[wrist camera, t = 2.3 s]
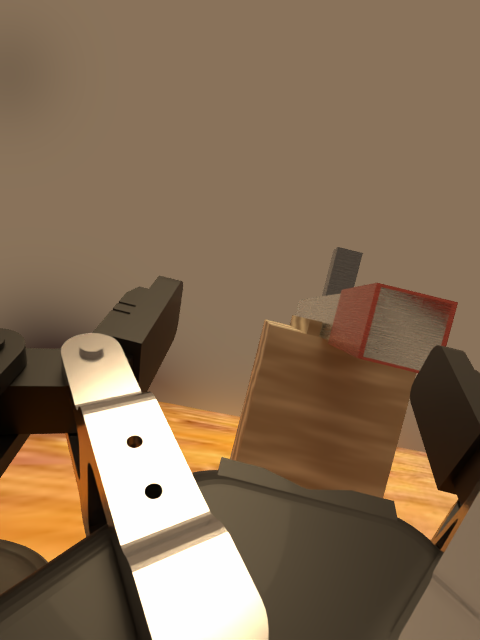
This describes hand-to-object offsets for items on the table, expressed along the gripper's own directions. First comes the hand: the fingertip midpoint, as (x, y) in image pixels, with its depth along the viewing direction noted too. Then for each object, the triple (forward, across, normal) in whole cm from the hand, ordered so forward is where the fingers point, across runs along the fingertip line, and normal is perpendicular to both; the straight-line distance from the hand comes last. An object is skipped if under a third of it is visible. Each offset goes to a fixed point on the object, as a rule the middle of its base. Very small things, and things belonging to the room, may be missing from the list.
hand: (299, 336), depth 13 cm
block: (+22, -6, +13) cm, 26 cm away
